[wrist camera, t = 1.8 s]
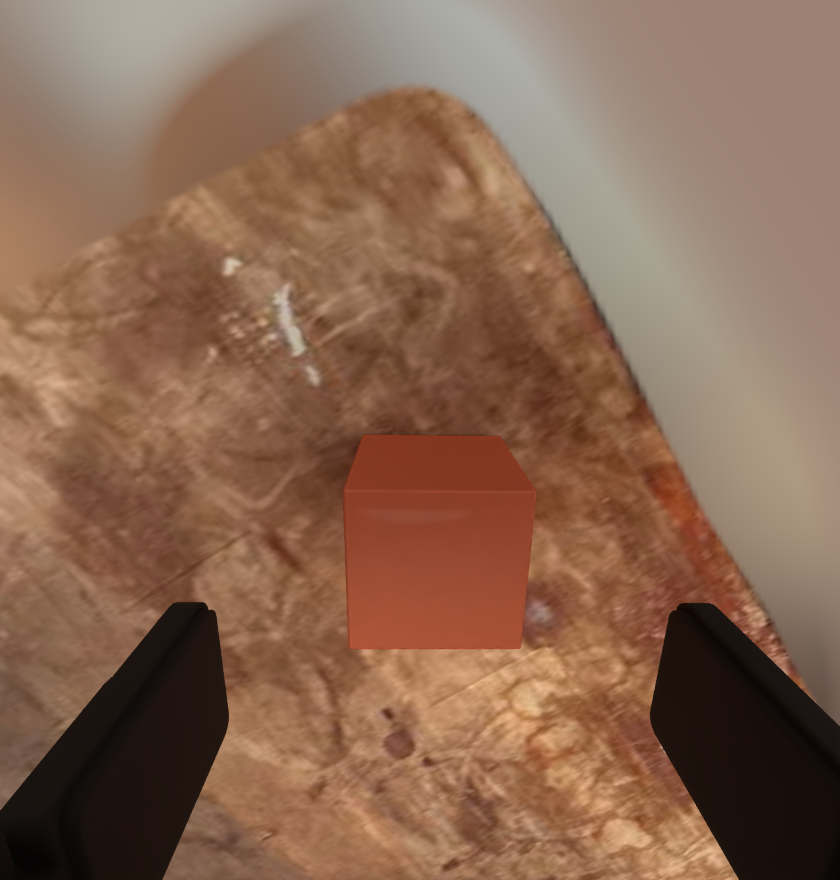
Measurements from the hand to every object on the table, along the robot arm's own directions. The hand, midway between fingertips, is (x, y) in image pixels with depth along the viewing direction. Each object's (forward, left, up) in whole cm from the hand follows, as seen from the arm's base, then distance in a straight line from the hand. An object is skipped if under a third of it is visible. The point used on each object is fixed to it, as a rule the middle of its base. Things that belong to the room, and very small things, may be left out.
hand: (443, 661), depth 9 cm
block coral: (-1, 0, -7) cm, 7 cm away
